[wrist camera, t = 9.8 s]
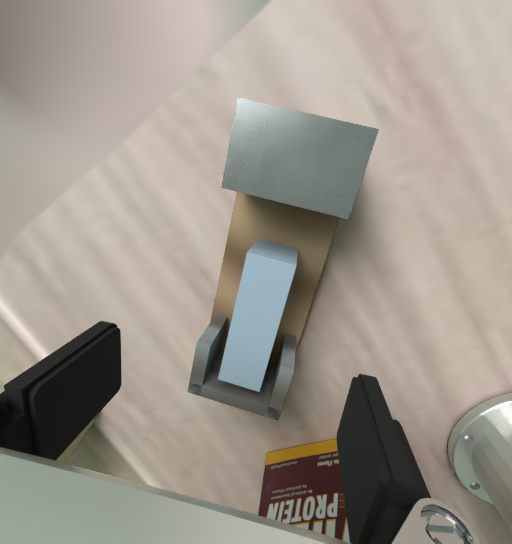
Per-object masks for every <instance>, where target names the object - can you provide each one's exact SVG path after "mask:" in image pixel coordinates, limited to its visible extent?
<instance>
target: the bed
mask: <svg viewBox="0 0 512 544" xmlns="http://www.w3.org/2000/svg"><path fill="white" fill-rule="evenodd" d="M338 220H339V217H337V216H333V215H329V214H325V213H321V212H317V211H313V210H309V209H305V208H301V207H297V206H293V205H289V204H285V203H281V202H277V201H273V200H269V199H265V198H261V197H257V196H253V195H249V194H245V193H241V192H237V194H236V199H235V204H234V209H233V214H232V219H231V224H230V229H229V234H228V239H227V244H226V248H225V253H224V258H223V263H222V268H221V273H220V278H219V283H218V288H217V293H216V298H215V303H214V308H213V313H212V318H211V323H210V324H209V326H208V327H207V329H206V330H205V332H204V333H203V335H202V336H201V338H200V339H199V341H198V342H197V345H196V351H195V356H194V361H193V366H192V372H191V377H190V382H189V387H188V392H189V393H192V394H196V395H199V396H202V397H205V398H208V399H211V400H215V401H218V402H221V403H224V404H227V405H230V406H234V407H237V408H240V409H243V410H246V411H250V412H253V413H256V414H259V415H262V416H265V417H269V418H272V419H275V420H278V419H279V416H280V413H281V410H282V407H283V404H284V401H285V398H286V395H287V392H288V389H289V386H290V383H291V380H292V377H293V374H294V367H295V353H296V349H297V346H298V343H299V340H300V337H301V334H302V331H303V328H304V325H305V322H306V319H307V316H308V313H309V309H310V306H311V303H312V300H313V297H314V294H315V291H316V288H317V285H318V282H319V279H320V276H321V273H322V269H323V266H324V263H325V260H326V257H327V254H328V251H329V248H330V245H331V242H332V239H333V236H334V233H335V229H336V226H337V223H338ZM259 238H260V239H263V240H267V241H271V242H275V243H279V244H282V245H286V246H290V247H294V248H298V254H297V266H296V269H295V272H294V276H293V279H292V283H291V286H290V289H289V293H288V296H287V300H286V303H285V307H284V310H283V313H282V317H281V320H280V324H279V327H278V330H277V334H276V337H275V341H274V344H273V347H272V351H271V354H270V358H269V361H268V365H267V368H266V371H265V375H264V378H263V382H262V385H261V388H260V392H258V391H254V390H251V389H248V388H245V387H241V386H238V385H235V384H232V383H228V382H225V381H222V380H219V379H218V377H219V372H220V368H221V364H222V359H223V355H224V351H225V346H226V342H227V338H228V333H229V329H230V324H231V320H232V316H233V311H234V307H235V303H236V298H237V294H238V290H239V285H240V281H241V277H242V272H243V268H244V264H245V259H246V255H247V252H248V250H249V249H250V248H251V247H252V246H253V245H254V243H255V242H256V241H257V240H258V239H259Z"/></svg>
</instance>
